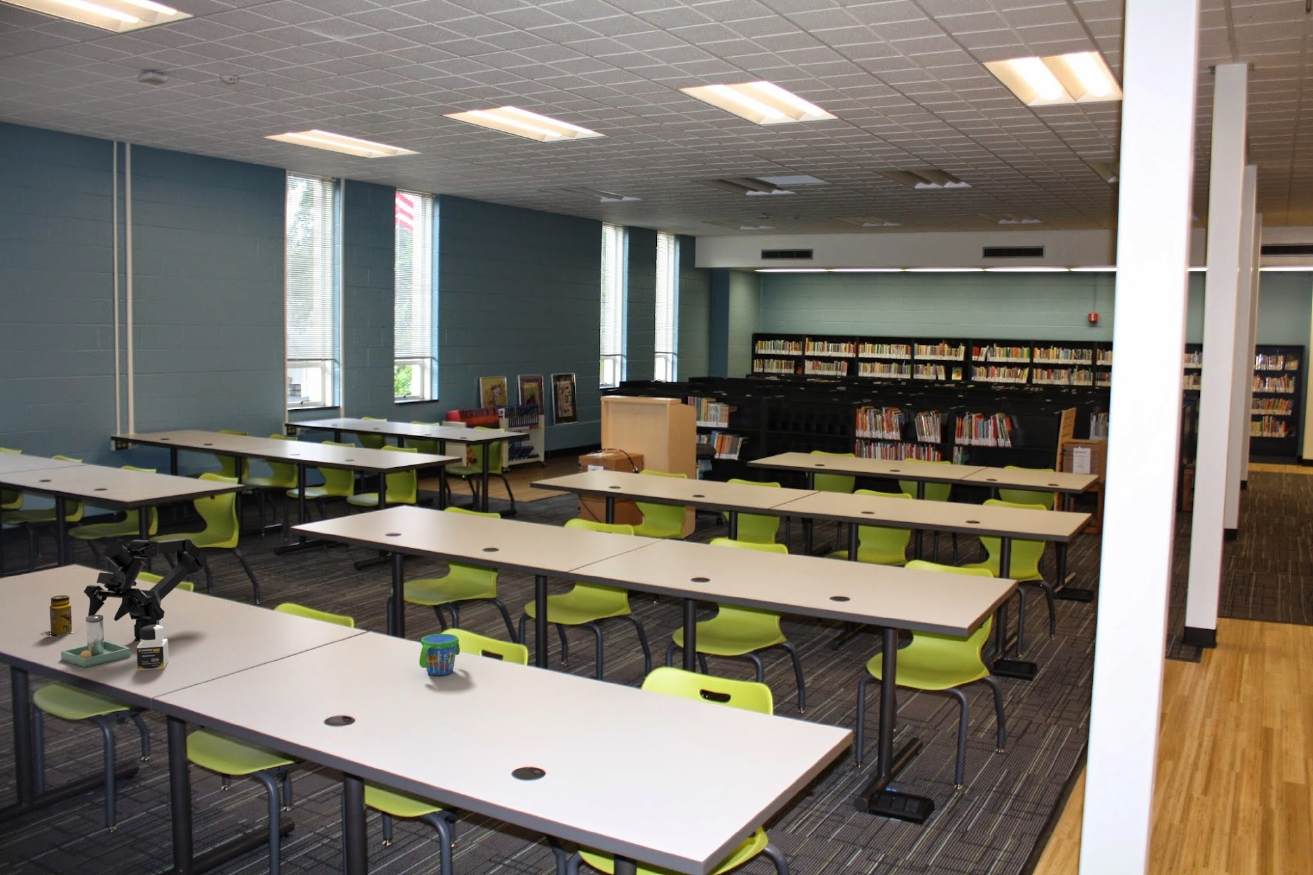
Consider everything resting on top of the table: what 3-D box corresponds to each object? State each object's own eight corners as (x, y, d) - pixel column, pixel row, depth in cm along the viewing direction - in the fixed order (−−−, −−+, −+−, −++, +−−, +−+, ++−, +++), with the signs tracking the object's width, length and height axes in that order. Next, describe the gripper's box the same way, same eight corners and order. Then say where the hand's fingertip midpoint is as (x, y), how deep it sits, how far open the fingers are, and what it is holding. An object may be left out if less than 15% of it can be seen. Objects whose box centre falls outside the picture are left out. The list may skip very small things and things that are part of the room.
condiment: (76, 633, 332) (74, 597, 331) (46, 638, 326) (44, 601, 325) (69, 628, 337) (68, 592, 336) (40, 633, 332) (39, 597, 330)
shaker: (101, 652, 310) (100, 613, 309) (107, 655, 307) (105, 616, 305) (85, 655, 306) (83, 616, 305) (90, 659, 303) (88, 619, 302)
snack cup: (446, 662, 306) (446, 629, 305) (472, 668, 300) (472, 634, 299) (407, 676, 293) (406, 641, 292) (433, 683, 287) (433, 647, 286)
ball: (93, 658, 304) (92, 648, 304) (89, 661, 301) (89, 651, 301) (82, 659, 303) (81, 649, 303) (78, 662, 300) (78, 652, 300)
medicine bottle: (137, 670, 295) (135, 630, 294) (142, 663, 302) (141, 623, 301) (164, 669, 297) (162, 628, 296) (168, 661, 304) (167, 622, 303)
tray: (107, 648, 316) (106, 640, 316) (130, 656, 308) (130, 648, 308) (61, 659, 305) (60, 651, 304) (84, 667, 297) (84, 659, 297)
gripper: (86, 559, 314) (60, 603, 304) (138, 563, 310) (113, 607, 300) (107, 578, 322) (81, 622, 313) (158, 582, 318) (134, 626, 309)
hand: (102, 619), depth 308 cm, fingers open, 9 cm apart
